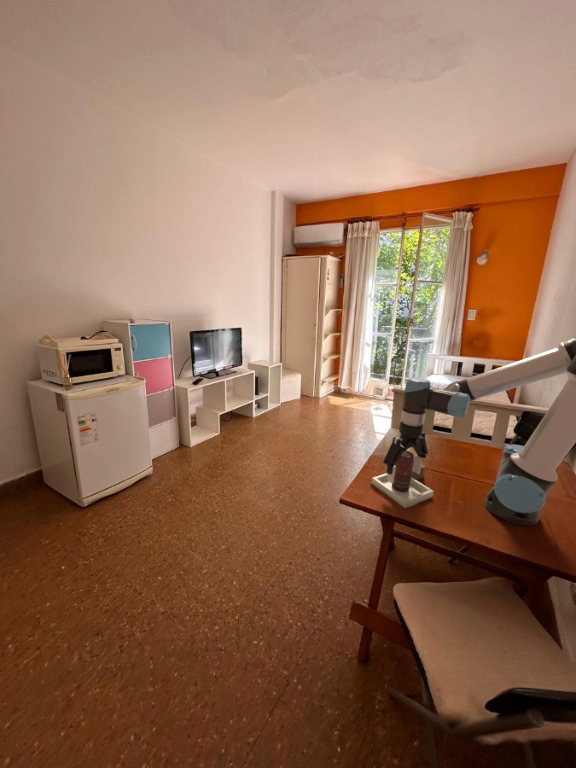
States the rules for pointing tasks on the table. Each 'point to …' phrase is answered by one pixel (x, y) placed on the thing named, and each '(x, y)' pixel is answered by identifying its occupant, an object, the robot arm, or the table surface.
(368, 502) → the table surface
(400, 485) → the can
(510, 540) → the table surface
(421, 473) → the square wooden box
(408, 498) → the tray
